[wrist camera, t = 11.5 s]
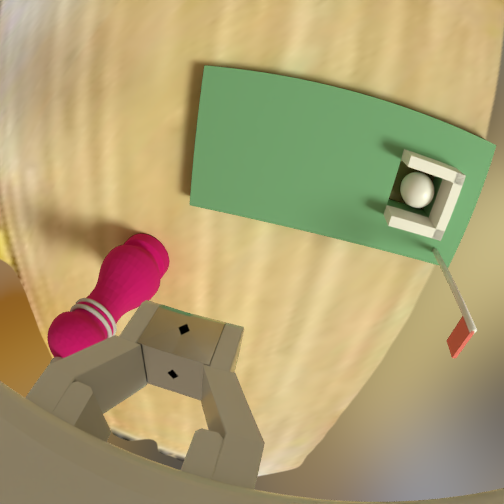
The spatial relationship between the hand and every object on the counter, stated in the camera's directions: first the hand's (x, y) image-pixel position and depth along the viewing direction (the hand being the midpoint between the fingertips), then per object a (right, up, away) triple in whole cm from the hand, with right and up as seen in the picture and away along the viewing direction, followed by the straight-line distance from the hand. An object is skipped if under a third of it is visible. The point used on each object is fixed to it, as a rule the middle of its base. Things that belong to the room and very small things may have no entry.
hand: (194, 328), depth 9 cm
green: (+10, +11, +20) cm, 25 cm away
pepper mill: (-11, +2, +30) cm, 32 cm away
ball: (+17, +8, +18) cm, 26 cm away
